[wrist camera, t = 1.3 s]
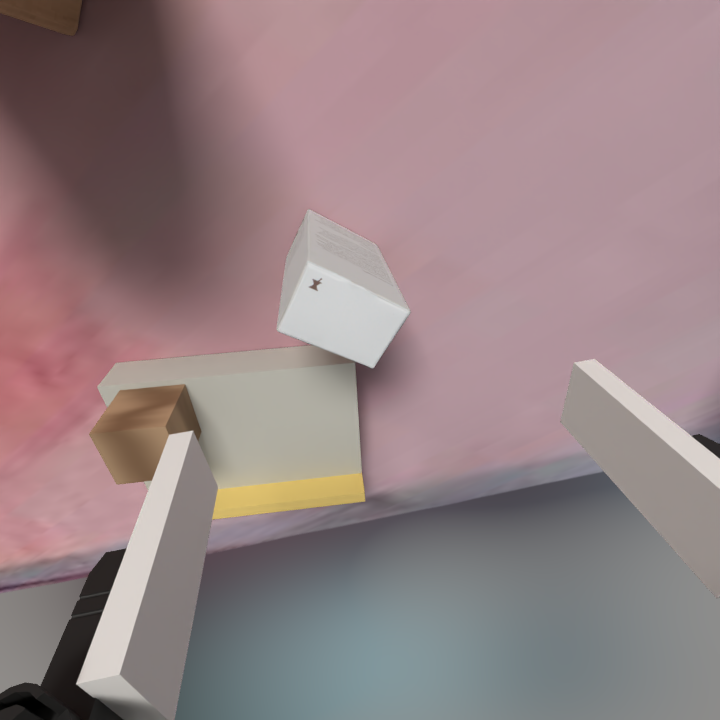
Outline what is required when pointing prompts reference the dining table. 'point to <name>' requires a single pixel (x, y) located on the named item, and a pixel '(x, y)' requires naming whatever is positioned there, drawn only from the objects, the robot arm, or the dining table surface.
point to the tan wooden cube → (142, 429)
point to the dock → (266, 424)
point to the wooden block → (45, 13)
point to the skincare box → (339, 293)
